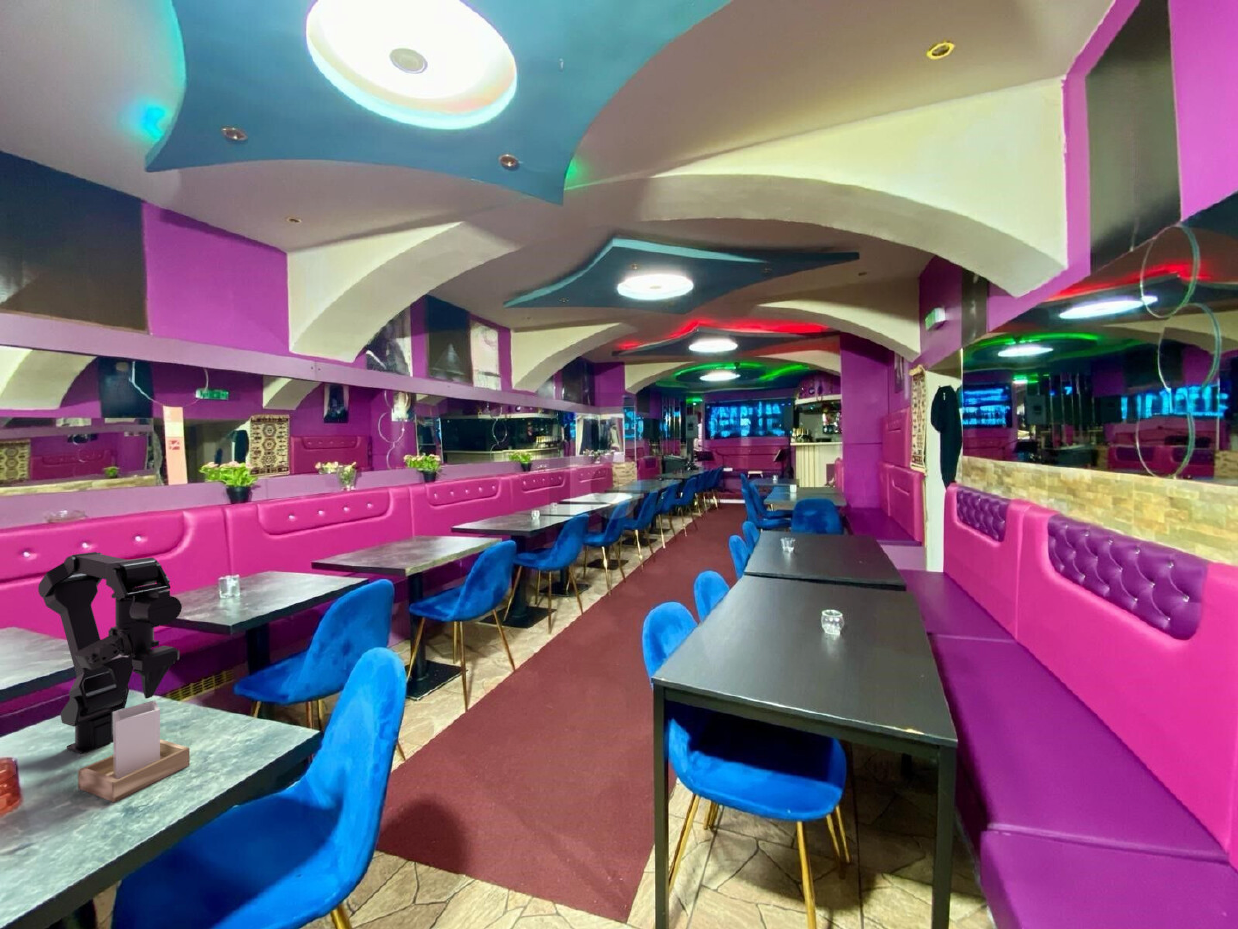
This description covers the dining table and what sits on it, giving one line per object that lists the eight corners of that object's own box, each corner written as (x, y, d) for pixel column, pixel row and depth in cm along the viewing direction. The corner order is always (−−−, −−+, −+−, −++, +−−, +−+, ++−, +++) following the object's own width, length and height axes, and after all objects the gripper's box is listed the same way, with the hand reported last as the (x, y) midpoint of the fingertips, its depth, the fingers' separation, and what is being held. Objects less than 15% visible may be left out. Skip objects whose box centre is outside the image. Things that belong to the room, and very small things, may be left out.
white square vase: (113, 773, 95) (113, 711, 95) (155, 759, 100) (155, 700, 100) (116, 786, 91) (116, 722, 91) (160, 770, 96) (159, 709, 96)
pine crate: (78, 788, 92) (78, 769, 92) (154, 754, 103) (154, 737, 103) (114, 802, 88) (114, 783, 88) (189, 765, 99) (189, 748, 99)
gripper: (55, 627, 98) (55, 705, 98) (110, 637, 91) (110, 721, 91) (127, 611, 108) (127, 681, 108) (180, 619, 102) (181, 694, 102)
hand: (135, 694), depth 102 cm, fingers open, 9 cm apart
